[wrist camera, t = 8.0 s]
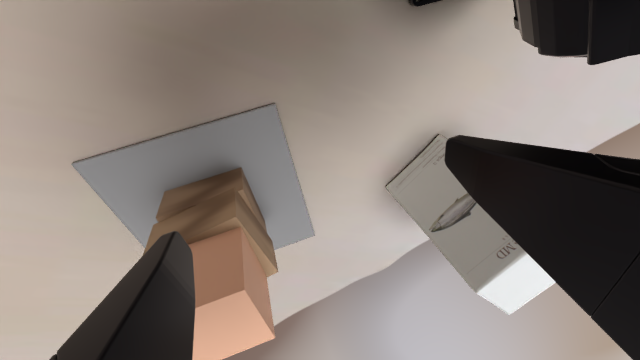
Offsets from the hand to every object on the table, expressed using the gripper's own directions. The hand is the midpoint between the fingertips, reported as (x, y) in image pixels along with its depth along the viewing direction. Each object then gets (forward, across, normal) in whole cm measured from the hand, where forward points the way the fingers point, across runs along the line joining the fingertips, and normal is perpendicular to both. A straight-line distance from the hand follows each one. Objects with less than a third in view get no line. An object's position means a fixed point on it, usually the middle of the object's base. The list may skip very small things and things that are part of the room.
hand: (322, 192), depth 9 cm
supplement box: (+13, -13, +13) cm, 23 cm away
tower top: (+10, +7, +8) cm, 14 cm away
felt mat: (+13, +7, +8) cm, 17 cm away
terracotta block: (+6, +7, +8) cm, 12 cm away
